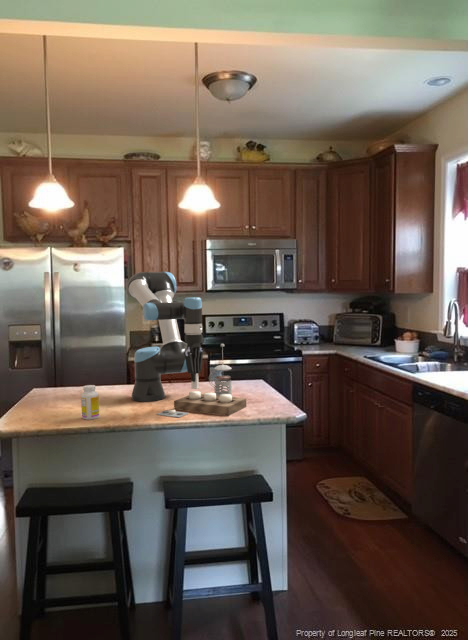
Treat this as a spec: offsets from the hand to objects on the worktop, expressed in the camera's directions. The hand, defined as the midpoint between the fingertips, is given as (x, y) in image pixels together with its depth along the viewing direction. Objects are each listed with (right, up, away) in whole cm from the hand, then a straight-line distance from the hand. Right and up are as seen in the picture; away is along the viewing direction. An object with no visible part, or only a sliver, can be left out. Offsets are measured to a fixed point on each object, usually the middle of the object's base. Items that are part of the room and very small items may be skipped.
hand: (195, 388), depth 219 cm
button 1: (0, -5, +1) cm, 5 cm away
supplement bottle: (-40, -10, -15) cm, 44 cm away
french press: (+11, -7, +17) cm, 21 cm away
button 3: (+13, -5, -6) cm, 16 cm away
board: (+7, -8, -3) cm, 11 cm away
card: (-8, -9, -12) cm, 17 cm away
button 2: (+7, -5, -3) cm, 9 cm away
